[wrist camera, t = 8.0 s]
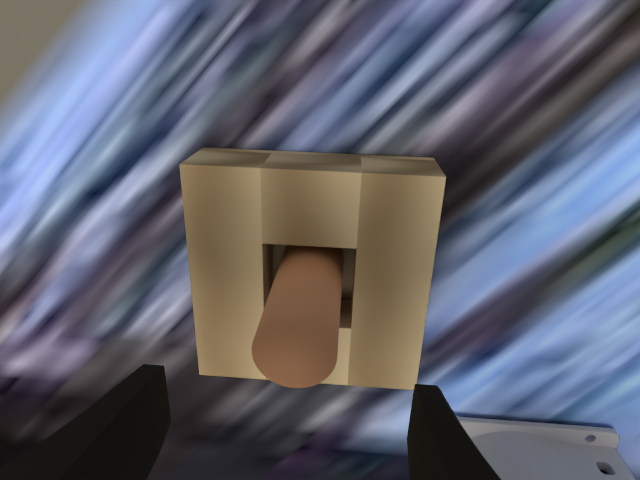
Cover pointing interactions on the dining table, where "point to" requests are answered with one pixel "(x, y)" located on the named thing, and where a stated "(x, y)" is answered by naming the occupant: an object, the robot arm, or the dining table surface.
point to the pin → (301, 318)
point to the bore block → (313, 230)
